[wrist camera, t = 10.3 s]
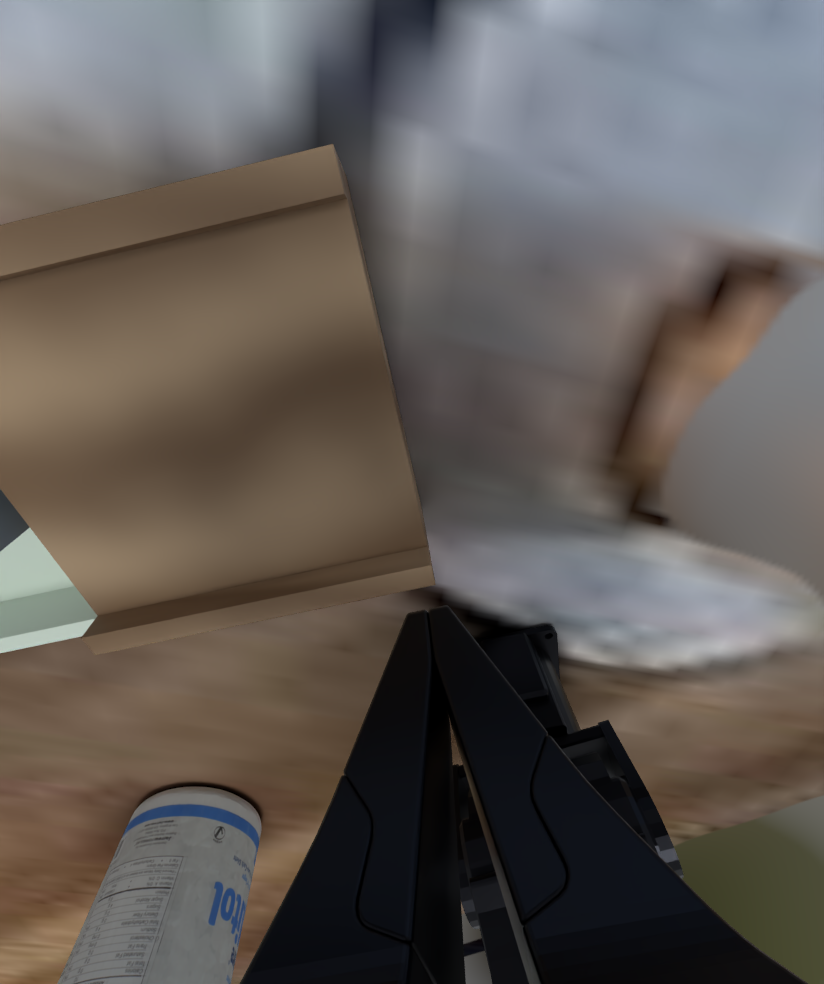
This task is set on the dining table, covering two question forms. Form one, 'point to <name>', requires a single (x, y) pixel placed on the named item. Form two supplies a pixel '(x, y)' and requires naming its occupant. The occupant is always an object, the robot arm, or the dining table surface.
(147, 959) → the supplement tub
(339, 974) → the robot arm
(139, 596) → the brown square tray
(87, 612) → the tray
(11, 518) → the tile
